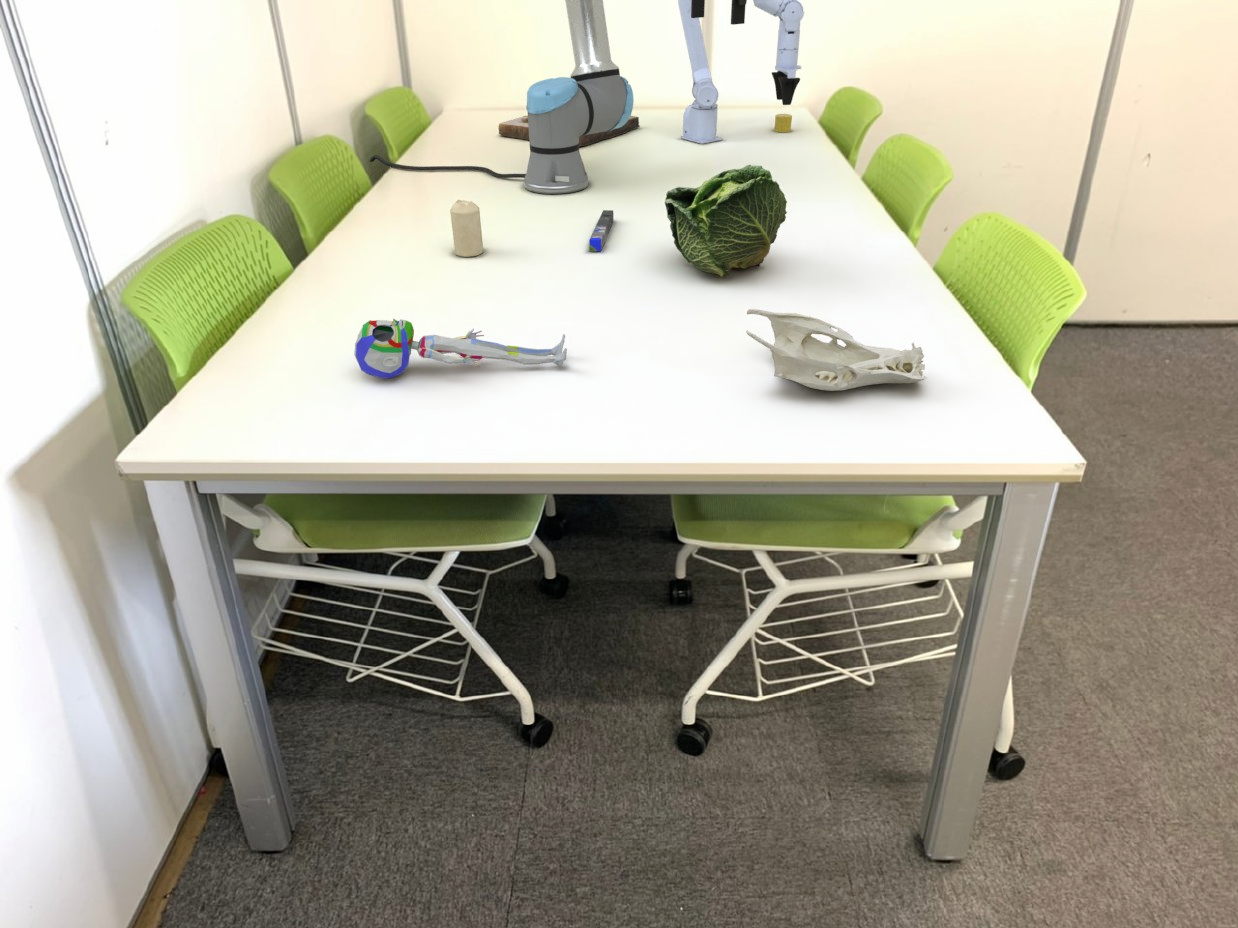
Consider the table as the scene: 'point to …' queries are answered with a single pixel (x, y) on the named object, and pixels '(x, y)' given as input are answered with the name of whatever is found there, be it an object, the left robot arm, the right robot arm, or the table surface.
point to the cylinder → (783, 123)
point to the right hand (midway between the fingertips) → (783, 102)
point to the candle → (466, 228)
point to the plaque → (521, 131)
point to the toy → (435, 349)
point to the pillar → (601, 230)
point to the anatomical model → (834, 356)
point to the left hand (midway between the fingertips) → (717, 21)
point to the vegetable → (727, 219)
